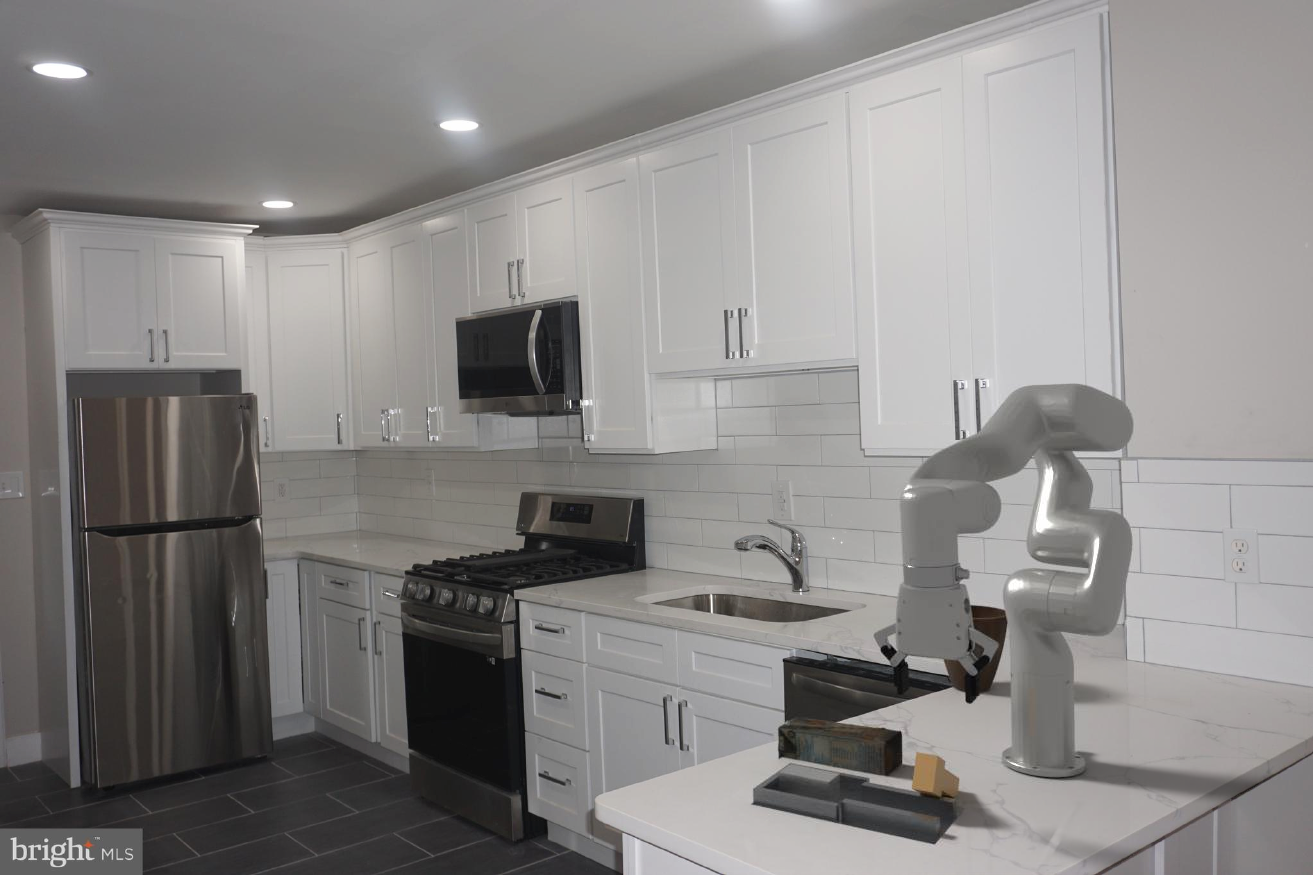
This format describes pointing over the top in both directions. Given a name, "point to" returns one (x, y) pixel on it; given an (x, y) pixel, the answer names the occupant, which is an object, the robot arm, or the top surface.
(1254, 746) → the top surface
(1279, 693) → the top surface
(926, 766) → the tan stepped beam
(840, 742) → the beverage carton
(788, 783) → the chip
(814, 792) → the grey cube
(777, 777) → the slot board
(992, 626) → the plant pot
